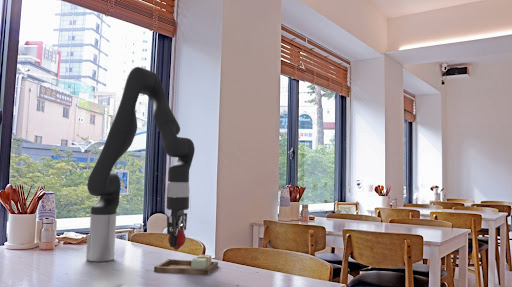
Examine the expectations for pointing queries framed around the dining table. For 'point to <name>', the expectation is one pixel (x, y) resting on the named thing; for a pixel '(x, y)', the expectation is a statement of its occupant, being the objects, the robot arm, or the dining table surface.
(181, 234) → the onion
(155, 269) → the tray
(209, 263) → the oak block
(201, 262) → the sage block
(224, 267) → the dining table surface
